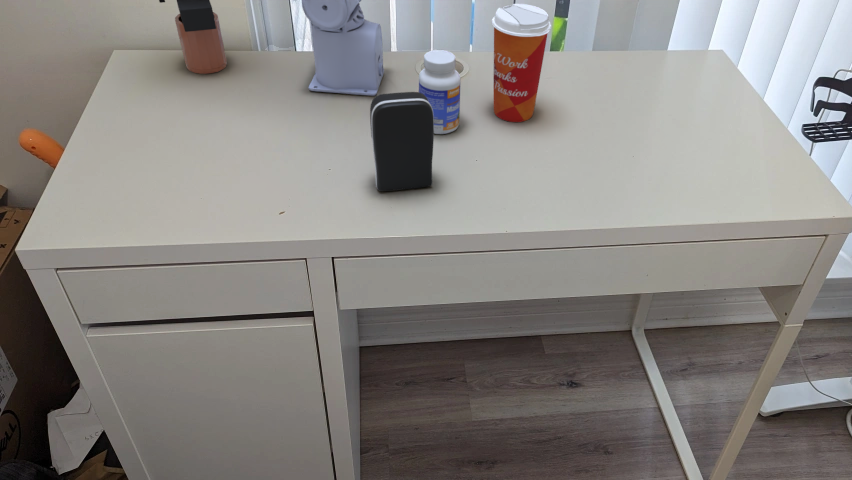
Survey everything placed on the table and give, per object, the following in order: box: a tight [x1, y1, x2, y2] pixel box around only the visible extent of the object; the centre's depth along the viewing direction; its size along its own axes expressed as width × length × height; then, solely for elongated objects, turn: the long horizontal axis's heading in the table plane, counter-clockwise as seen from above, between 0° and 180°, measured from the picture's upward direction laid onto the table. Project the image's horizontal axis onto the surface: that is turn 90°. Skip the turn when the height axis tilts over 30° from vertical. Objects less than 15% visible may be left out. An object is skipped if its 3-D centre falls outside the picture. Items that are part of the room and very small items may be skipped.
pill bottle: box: [418, 49, 461, 135], centre depth 94 cm, size 5×5×10 cm
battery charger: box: [369, 91, 435, 192], centre depth 83 cm, size 7×4×11 cm, turn 106°
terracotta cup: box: [174, 11, 228, 75], centre depth 103 cm, size 6×6×7 cm
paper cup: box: [491, 3, 552, 123], centre depth 97 cm, size 8×8×14 cm
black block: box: [176, 0, 216, 32], centre depth 99 cm, size 9×4×3 cm, turn 24°
